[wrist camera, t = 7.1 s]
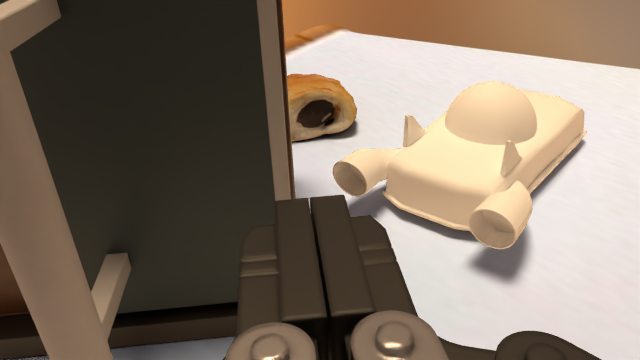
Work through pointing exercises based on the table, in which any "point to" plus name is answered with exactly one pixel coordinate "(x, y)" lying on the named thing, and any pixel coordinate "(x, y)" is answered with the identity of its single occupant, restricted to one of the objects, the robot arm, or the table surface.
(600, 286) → the table surface
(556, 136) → the plane toy
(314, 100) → the pastry
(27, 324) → the cupboard
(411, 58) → the table surface
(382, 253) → the robot arm
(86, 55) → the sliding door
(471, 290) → the table surface
